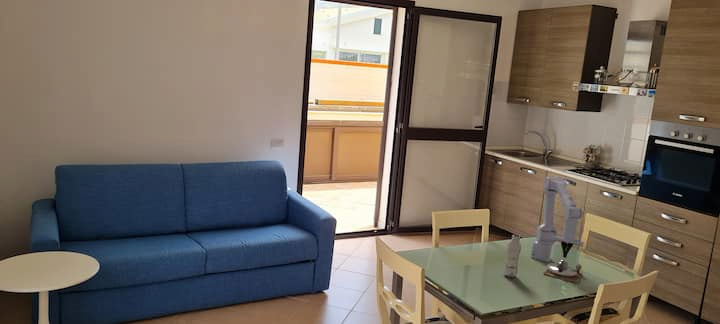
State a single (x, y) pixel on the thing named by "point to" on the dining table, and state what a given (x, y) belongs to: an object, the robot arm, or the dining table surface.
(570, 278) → the base board
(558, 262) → the cover
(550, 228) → the robot arm
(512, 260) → the plastic bottle
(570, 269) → the turntable
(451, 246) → the dining table surface
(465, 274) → the dining table surface
